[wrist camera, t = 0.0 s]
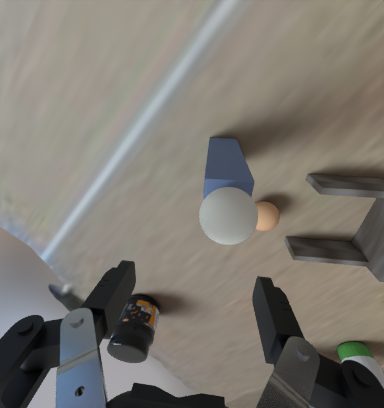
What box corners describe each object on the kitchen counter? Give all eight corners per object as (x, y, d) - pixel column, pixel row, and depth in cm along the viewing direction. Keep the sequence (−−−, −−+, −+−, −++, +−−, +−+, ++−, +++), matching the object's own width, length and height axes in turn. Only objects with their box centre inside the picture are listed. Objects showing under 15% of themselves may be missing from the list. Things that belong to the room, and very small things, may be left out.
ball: (259, 191, 33) (265, 206, 29) (281, 205, 34) (290, 222, 30) (240, 211, 35) (244, 227, 31) (261, 223, 36) (267, 241, 32)
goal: (284, 240, 38) (299, 273, 31) (307, 174, 31) (334, 198, 24) (354, 246, 37) (386, 282, 30) (395, 179, 30) (449, 205, 23)
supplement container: (168, 306, 54) (157, 357, 44) (147, 319, 58) (132, 367, 48) (138, 288, 51) (119, 338, 41) (118, 302, 55) (96, 350, 45)
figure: (206, 163, 32) (196, 254, 14) (208, 136, 29) (198, 203, 12) (233, 165, 31) (257, 260, 14) (237, 137, 29) (271, 208, 11)
